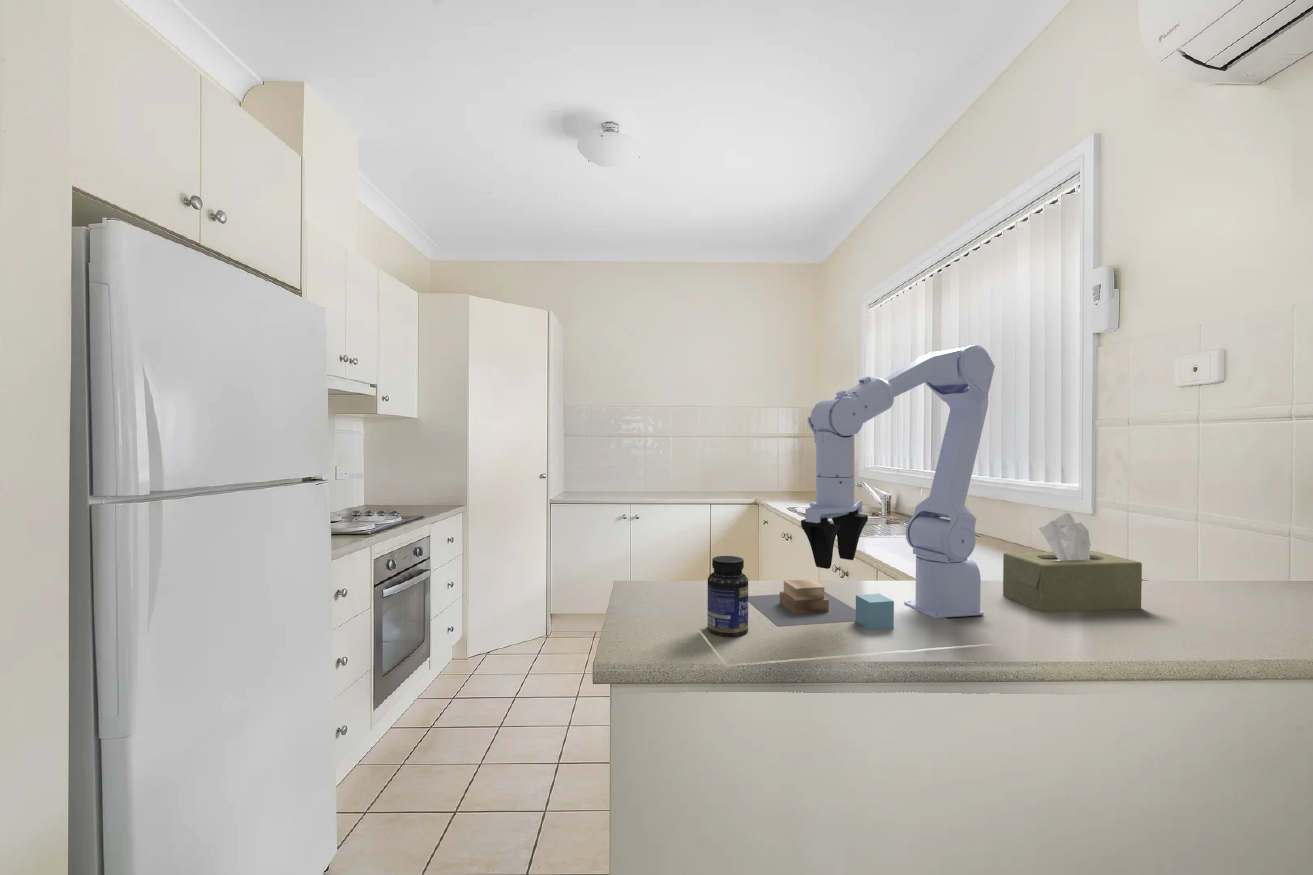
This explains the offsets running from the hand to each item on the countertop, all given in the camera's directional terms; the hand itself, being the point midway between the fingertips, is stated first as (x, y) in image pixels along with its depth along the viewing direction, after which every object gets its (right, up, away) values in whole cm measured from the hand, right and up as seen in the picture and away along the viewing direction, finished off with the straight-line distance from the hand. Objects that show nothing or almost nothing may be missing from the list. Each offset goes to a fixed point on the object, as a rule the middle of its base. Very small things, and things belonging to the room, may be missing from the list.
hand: (835, 563), depth 91 cm
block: (+6, -10, -1) cm, 11 cm away
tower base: (-3, -9, +7) cm, 12 cm away
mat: (-3, -9, +7) cm, 12 cm away
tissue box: (+45, -10, +12) cm, 48 cm away
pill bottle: (-17, -10, -3) cm, 20 cm away
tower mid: (-3, -7, +7) cm, 11 cm away
